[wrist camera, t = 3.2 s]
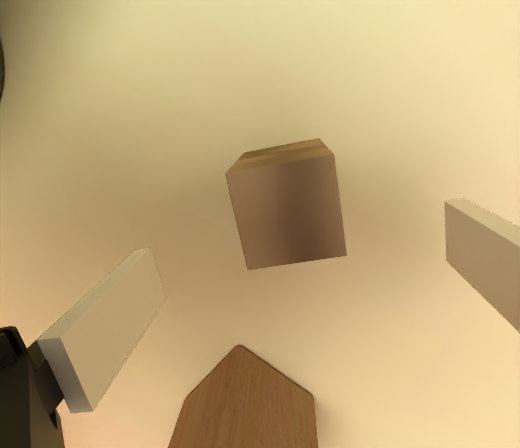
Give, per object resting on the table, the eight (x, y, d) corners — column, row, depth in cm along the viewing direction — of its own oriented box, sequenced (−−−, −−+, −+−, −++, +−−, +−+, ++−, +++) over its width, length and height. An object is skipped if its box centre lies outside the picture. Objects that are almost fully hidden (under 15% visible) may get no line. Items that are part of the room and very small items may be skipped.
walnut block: (259, 222, 29) (247, 270, 21) (244, 152, 27) (225, 174, 19) (329, 210, 28) (346, 255, 20) (318, 138, 27) (333, 154, 18)
